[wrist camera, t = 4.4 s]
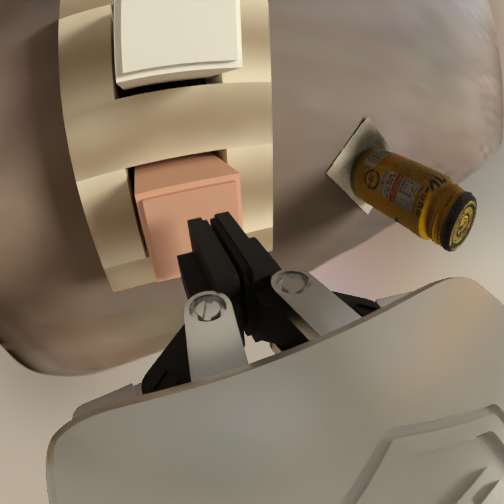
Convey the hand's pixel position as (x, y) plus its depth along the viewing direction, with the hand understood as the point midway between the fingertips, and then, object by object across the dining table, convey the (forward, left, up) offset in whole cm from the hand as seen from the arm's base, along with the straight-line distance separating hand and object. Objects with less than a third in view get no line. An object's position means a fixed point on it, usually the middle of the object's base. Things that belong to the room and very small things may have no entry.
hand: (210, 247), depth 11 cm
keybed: (-5, 0, -10) cm, 11 cm away
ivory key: (-10, 0, -8) cm, 12 cm away
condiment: (+1, +19, -10) cm, 22 cm away
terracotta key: (0, 0, -9) cm, 9 cm away
